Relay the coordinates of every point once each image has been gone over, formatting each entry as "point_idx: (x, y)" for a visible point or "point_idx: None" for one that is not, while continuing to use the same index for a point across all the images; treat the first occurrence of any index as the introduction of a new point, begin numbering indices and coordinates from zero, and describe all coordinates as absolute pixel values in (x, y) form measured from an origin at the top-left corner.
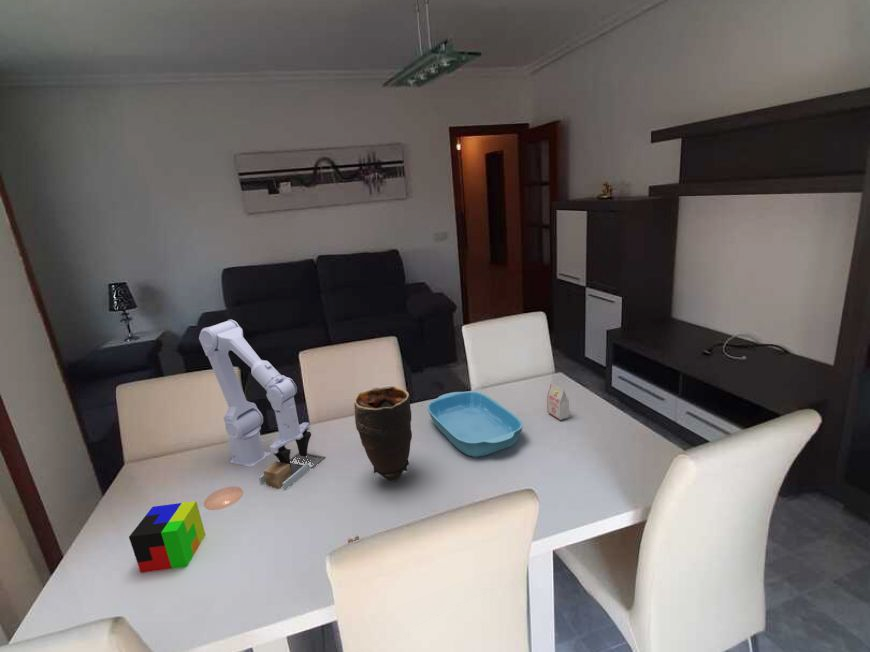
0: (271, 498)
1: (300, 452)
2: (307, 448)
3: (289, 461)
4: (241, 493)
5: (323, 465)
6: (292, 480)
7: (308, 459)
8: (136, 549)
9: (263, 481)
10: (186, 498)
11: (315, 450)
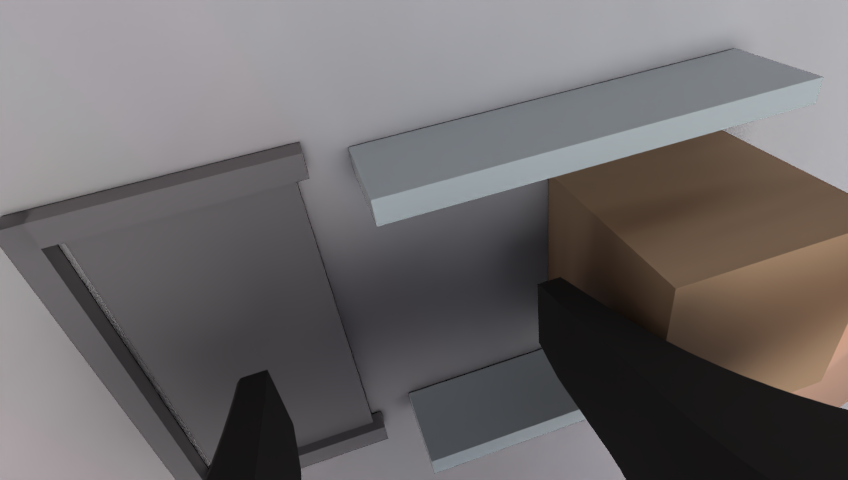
0: (834, 79)
1: (293, 458)
2: (214, 464)
3: (620, 342)
4: None
5: (133, 91)
6: (663, 94)
7: (209, 347)
8: None
9: None
10: None
11: (26, 446)
